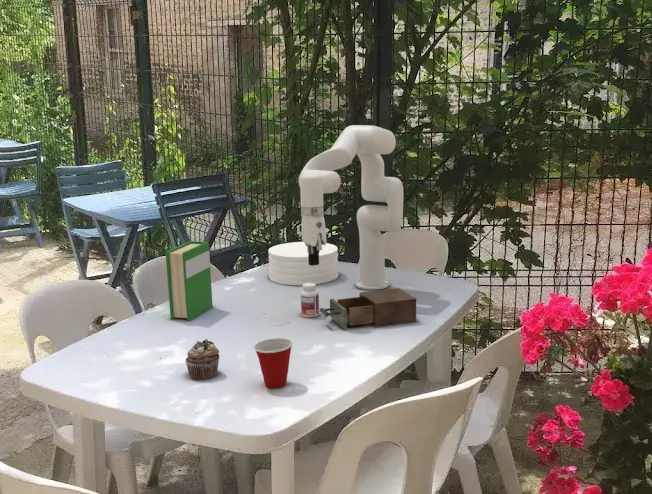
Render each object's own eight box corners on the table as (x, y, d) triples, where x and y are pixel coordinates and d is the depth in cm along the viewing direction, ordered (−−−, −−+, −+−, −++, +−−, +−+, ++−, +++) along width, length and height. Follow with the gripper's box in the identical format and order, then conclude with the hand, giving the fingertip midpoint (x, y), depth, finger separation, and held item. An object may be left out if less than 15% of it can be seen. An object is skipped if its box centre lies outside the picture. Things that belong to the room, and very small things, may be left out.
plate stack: (258, 282, 342) (256, 254, 339) (285, 266, 367) (284, 240, 364) (323, 287, 331) (323, 258, 328) (347, 270, 356) (347, 243, 353)
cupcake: (206, 366, 251) (204, 333, 248) (227, 374, 244) (225, 340, 242) (179, 375, 245) (177, 341, 242) (200, 383, 238) (198, 349, 235)
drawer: (329, 329, 278) (328, 311, 276) (316, 318, 290) (315, 300, 288) (381, 323, 283) (381, 304, 281) (367, 312, 295) (366, 294, 294)
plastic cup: (254, 378, 240) (252, 337, 237) (292, 376, 241) (291, 335, 238) (255, 393, 230) (253, 350, 227) (295, 390, 231) (294, 348, 227)
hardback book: (189, 320, 295) (184, 252, 288) (170, 319, 297) (165, 251, 291) (212, 306, 311) (208, 242, 304) (194, 305, 313) (190, 241, 307)
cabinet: (375, 327, 282) (375, 303, 280) (359, 315, 295) (359, 292, 293) (416, 322, 286) (416, 298, 284) (398, 310, 299) (398, 288, 297)
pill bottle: (311, 311, 301) (310, 281, 298) (322, 315, 297) (322, 284, 294) (297, 315, 298) (296, 284, 295) (309, 318, 293) (308, 287, 290)
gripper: (332, 213, 280) (334, 267, 285) (312, 206, 293) (313, 259, 298) (312, 215, 277) (314, 270, 282) (292, 209, 290) (294, 261, 295)
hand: (313, 264), depth 290 cm, fingers closed
